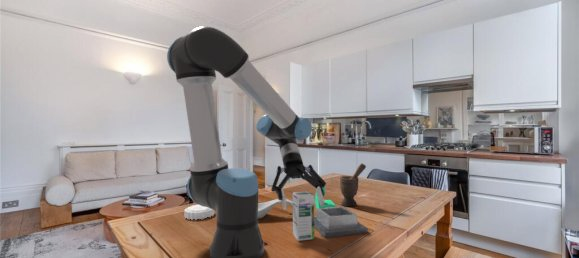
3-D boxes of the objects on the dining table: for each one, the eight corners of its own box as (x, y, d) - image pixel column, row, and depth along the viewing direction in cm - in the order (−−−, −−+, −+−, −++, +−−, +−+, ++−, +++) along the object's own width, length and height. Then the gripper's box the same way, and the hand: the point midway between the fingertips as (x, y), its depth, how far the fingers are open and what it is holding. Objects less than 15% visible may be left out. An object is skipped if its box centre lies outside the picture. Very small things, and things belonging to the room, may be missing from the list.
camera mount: (336, 213, 110) (336, 189, 110) (319, 213, 109) (319, 189, 109) (330, 205, 122) (330, 183, 122) (314, 205, 121) (314, 183, 121)
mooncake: (180, 215, 107) (180, 206, 107) (207, 209, 115) (207, 201, 115) (190, 222, 98) (190, 213, 98) (219, 216, 106) (219, 207, 106)
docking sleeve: (325, 237, 83) (324, 221, 84) (308, 221, 99) (308, 207, 99) (367, 232, 88) (367, 216, 88) (345, 217, 103) (345, 204, 103)
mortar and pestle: (361, 202, 126) (361, 161, 126) (367, 207, 117) (367, 163, 117) (338, 202, 126) (338, 161, 126) (342, 207, 117) (342, 164, 117)
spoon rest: (238, 222, 99) (238, 203, 99) (242, 212, 111) (242, 196, 111) (299, 221, 100) (299, 202, 100) (297, 211, 112) (296, 195, 112)
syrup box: (297, 241, 81) (297, 195, 81) (292, 234, 86) (292, 191, 86) (314, 239, 82) (314, 194, 82) (308, 232, 88) (308, 190, 88)
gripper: (318, 162, 107) (334, 208, 93) (259, 164, 100) (266, 215, 86) (323, 150, 102) (341, 197, 88) (261, 152, 95) (270, 203, 80)
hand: (304, 206), depth 87 cm, fingers open, 13 cm apart
